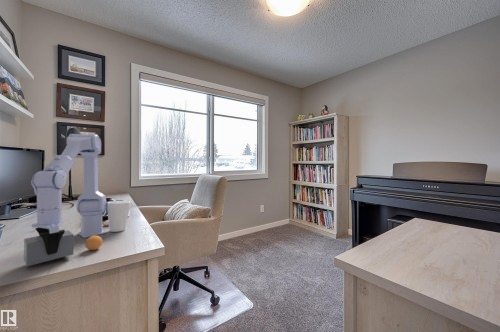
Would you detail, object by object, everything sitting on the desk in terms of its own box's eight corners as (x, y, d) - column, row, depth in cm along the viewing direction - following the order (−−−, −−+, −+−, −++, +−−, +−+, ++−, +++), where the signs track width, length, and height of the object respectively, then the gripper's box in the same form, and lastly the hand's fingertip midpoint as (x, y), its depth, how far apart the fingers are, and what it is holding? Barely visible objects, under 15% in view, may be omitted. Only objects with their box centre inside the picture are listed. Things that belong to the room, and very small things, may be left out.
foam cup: (117, 233, 93) (119, 203, 94) (100, 231, 95) (102, 202, 96) (133, 228, 102) (135, 201, 103) (117, 226, 104) (118, 200, 105)
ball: (83, 250, 76) (83, 236, 76) (99, 245, 80) (99, 232, 80) (87, 253, 73) (87, 239, 73) (104, 249, 77) (104, 235, 77)
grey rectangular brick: (24, 260, 65) (24, 238, 65) (68, 249, 73) (68, 230, 73) (26, 266, 61) (26, 243, 61) (73, 254, 69) (73, 234, 69)
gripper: (28, 207, 69) (29, 248, 69) (35, 214, 60) (35, 261, 60) (57, 204, 74) (57, 242, 74) (67, 210, 65) (67, 253, 65)
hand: (50, 250), depth 67 cm, fingers closed on grey rectangular brick, 6 cm apart
